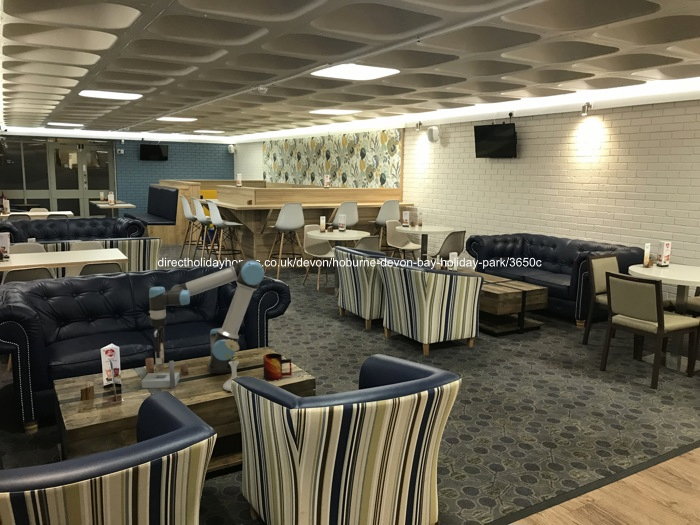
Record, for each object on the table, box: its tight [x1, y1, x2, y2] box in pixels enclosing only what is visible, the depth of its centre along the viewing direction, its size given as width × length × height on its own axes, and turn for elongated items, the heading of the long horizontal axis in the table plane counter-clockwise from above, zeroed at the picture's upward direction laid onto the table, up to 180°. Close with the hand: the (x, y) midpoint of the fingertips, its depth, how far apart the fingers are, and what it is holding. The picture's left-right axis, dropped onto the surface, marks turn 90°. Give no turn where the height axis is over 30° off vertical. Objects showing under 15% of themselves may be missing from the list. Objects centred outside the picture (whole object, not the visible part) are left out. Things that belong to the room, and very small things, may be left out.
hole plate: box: [141, 360, 181, 390], centre depth 284 cm, size 17×15×14 cm
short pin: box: [179, 363, 189, 377], centre depth 299 cm, size 4×4×5 cm
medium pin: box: [145, 357, 155, 376], centre depth 298 cm, size 4×4×9 cm
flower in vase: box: [222, 339, 240, 392], centre depth 277 cm, size 13×11×25 cm
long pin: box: [154, 343, 165, 373], centre depth 284 cm, size 4×4×14 cm
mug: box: [262, 352, 293, 382], centre depth 295 cm, size 10×14×12 cm
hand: (160, 362), depth 284 cm, fingers closed on long pin, 4 cm apart
